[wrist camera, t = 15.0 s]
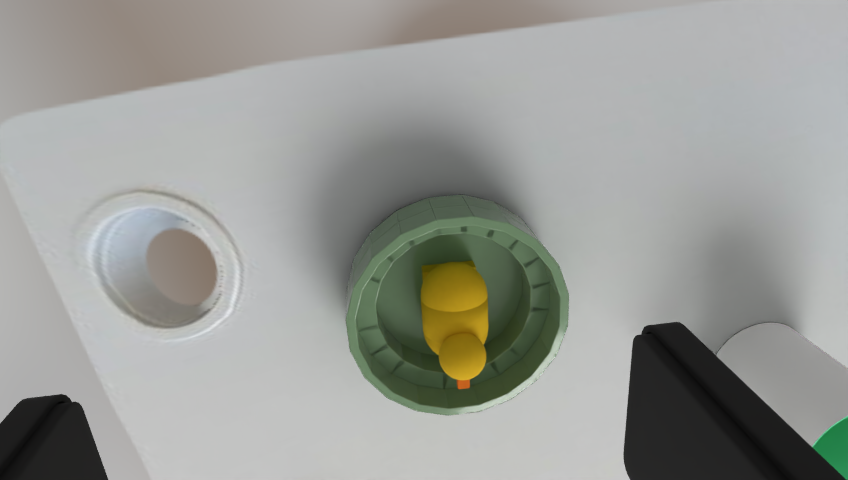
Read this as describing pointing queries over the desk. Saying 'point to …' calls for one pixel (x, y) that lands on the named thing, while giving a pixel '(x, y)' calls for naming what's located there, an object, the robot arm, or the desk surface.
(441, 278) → the duck
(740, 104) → the desk surface
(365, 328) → the bowl
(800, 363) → the mug
